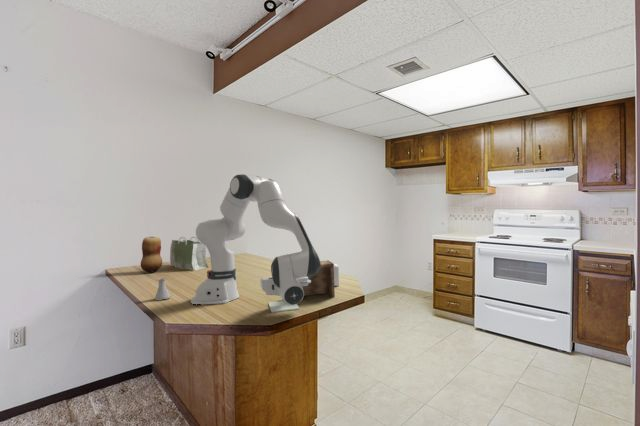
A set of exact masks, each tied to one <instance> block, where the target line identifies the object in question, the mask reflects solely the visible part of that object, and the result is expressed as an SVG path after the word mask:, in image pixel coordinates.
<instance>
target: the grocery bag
mask: <svg viewBox="0 0 640 426" xmlns="http://www.w3.org/2000/svg"><path fill="white" fill-rule="evenodd" d="M192 239H196V241H193V240H192ZM169 250H170V252H169V254H170V255H169V260H170V263H169V264H170V267H171V266H176V267H175V268H177V267H180V268H179V269H181V268H183V269H182V270H185V269H186V270H185V271H190V270H192V271H191V272H195V271H194V270H196V271H200V270H205V269H209V266H208V265H209V264H208V263H207V260H206V246H205V245H204V244H203V243H202V242H200V241H199V240H198V238H197V236H191V237H190V238H189V239H187V238H186V237H184V236H180V237H179V239H171V243H170V249H169Z"/></svg>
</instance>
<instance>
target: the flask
mask: <svg viewBox="0 0 640 426" xmlns="http://www.w3.org/2000/svg"><path fill="white" fill-rule="evenodd" d="M157 281H158V287H157V292H156V294H155V298H154V300H155V299H156V300H155V301H157V300H158V301H163V300H162V299H166V300H168V299H167V298H169V299H170V298H171V295H170V292H169V290H168V287H167V286H166V278H163V277H162V278H158V279H157Z"/></svg>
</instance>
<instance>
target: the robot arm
mask: <svg viewBox="0 0 640 426" xmlns="http://www.w3.org/2000/svg"><path fill="white" fill-rule="evenodd" d="M250 202H255V203H256V202H257V207H258V212H259V215H260V218H261V221H262V222H263V223H264V224H265V225H267V226H269V227H271V228H274V229H282V230H286V231H289V232H291V233H293V235H294V237H296V240H297V242H298V245H299V246H300V249H301V251H298V252H297V251H296V252H292V253H288V254H287V253H286V254H284V255H283V254H282V255H279V256H275V257H274V259H273V260H272V262H271V266H270V271H271V276H270V277H262V278H260V279H259V281H260V282H259V283H260V288H261V290H262V291H263V292H265V295H266V296H279V297H280V299H282V300H281V301H284V302H285V303H287V304H289V305H295V304H297V305H298V304H299V303H300V302H302V301H301V300H302V299H304V290H303V287H302V286H307V285H308V284H309V283H311V280H309V279H308V277H309V276H315V275H316V274H317V273H318V271H319V270H320V268H321V263H320V261H321V260H320V257H319V255H318V253H317V252H316V250H315V247H314V246H313V244H312V242H311V240H310V238H309V236H308V234H307V231H306V229H305V227H304V225H303V223H302V222H301V219H300V218H299V216H298V214H297V213H293V212H292V211H291V210H290V209H289V208H288V207H287V204H286V200H285V198H284V193H283V192H282V189H281V187H280V186H279V183H277V182H276V180H273V179H272V178H271V179H270V178H266V177H262V176H258V175H256V176H255V175H247V174H236V175H235V176H233V177H232V179H231V180H230V184H229V187H228V189H227V192H226V194H225V196H224V198H223V200H222V201H221V204H220V206H219V211H220V212H221V215H222V216H223V217H222V218H218V219H208V220H205V221H202V222H199V223H198V224H197V226H196V229H195V235H196V236H195V237H196V238H197V239H198V240H199V242H202V243H203V244H204V245H205V248H207V250H208V253H209V257H210V258H209V259H210V266H211V269H208V270H207V271H206V275H207V277H206V278H207V279H205V280H204V281H203V282H202V283H201V284H200V285H198V287H197V288H196V290H195V295H194V296H193V297H192V298H191V299H190V304H191V303H192V304H191V305H193V304H196V305H195V306H197V304H201V305H217V304H218V305H219V304H226V303H228V302H230V301H235V300H236V299H239V298H240V293H239V291H238V287H237V281H236V280H237V270H236V265H235V264H236V263H235V253H234V251H232V250H231V249H229V248H227V246H226V242H229V241H234V240H237V239H239V238H240V239H241V238H242V237H243V236H244V235H245V234H246V225H245V223H244V222H243V216H244V214H245V211H246V210H247V207H248V205H249V204H250Z"/></svg>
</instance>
